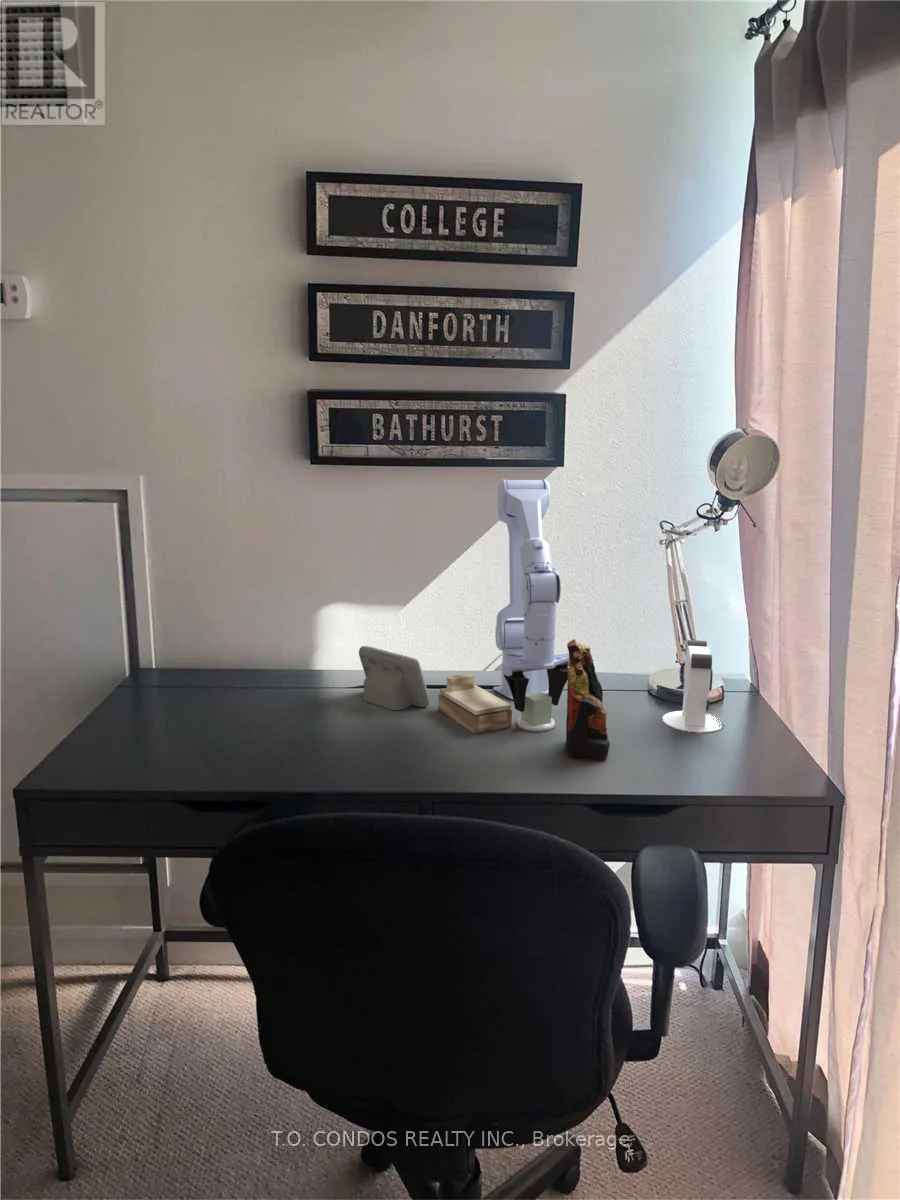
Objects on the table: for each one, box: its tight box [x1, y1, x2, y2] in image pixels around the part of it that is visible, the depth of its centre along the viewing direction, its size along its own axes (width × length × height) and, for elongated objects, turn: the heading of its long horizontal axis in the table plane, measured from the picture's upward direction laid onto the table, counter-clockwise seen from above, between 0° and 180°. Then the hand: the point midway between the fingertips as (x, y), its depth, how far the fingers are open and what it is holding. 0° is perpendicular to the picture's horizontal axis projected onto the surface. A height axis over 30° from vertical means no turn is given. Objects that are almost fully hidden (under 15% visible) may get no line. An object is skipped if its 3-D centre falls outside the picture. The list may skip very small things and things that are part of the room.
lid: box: [439, 673, 512, 715], centre depth 171 cm, size 8×14×3 cm, turn 29°
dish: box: [516, 716, 556, 733], centre depth 169 cm, size 7×7×1 cm
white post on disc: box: [662, 639, 722, 734], centre depth 169 cm, size 12×11×15 cm
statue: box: [565, 638, 611, 761], centre depth 156 cm, size 12×8×20 cm, turn 169°
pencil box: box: [438, 693, 513, 734], centre depth 172 cm, size 8×14×3 cm, turn 29°
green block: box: [520, 691, 553, 726], centre depth 168 cm, size 4×4×5 cm
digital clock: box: [358, 645, 430, 711], centre depth 180 cm, size 16×9×11 cm, turn 38°
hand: (536, 706), depth 168 cm, fingers open, 7 cm apart
